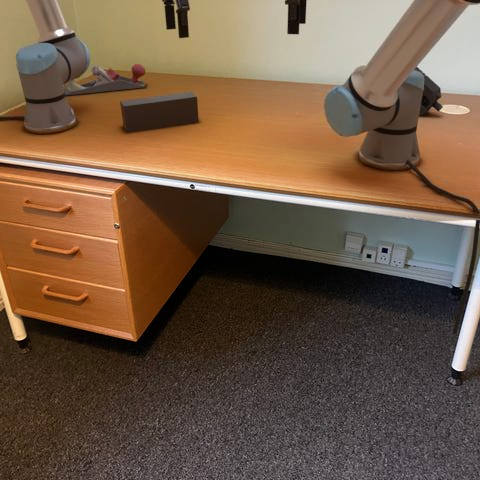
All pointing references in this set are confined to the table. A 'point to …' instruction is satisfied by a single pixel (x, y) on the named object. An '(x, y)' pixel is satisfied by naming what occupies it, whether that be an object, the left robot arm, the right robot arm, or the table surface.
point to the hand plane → (106, 81)
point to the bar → (159, 111)
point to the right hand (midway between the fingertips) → (296, 28)
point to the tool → (429, 95)
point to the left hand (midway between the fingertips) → (177, 33)
